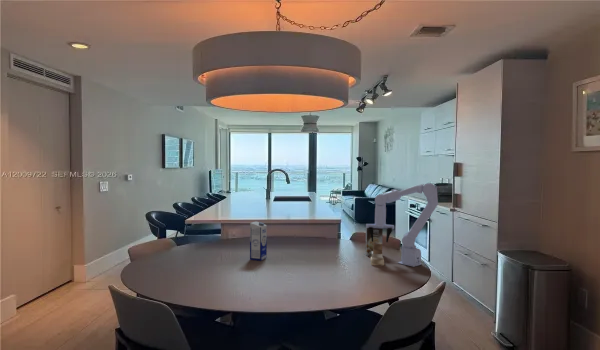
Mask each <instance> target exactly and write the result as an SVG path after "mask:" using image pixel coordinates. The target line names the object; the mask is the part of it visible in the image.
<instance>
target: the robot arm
mask: <svg viewBox="0 0 600 350" xmlns="http://www.w3.org/2000/svg"><path fill="white" fill-rule="evenodd" d="M412 194H423V195H424V196H425V198H426V201H427V203H426V205H425V207H424V208H423V210H422V211H421V212H420V214H419V215H418V218H417V219H416V220H415V222H414V223H413V224H412V227H411V228H410V229H409V231H408V232H406V233H405V234H403V237H402V239H401V243H402V245H401V258H400V259H401V261H398V262H397V263H398V264H399V265H403V266H409V267H412V268H414V267H419V266H421V265H423V263H422V250H421V249H420V248H418V247H417V245H416V244H415V243H416V239H417V238H418V235H419V234H420V232H421V231H422V230H423V228H424V226H425V224H426V223H427V222H428V221H429V218H430V217H431V216H432V214H433V212H434V211H435V210H436V208H437V207H438V205H439V201H438V200H439V199H438V190H437V188H436V186H435V184H434V183H432V182H428V183H422V184H415V185H413V186H410V187H407V188H405V189H401V190H398V189H394V188H393V189H392V188H391V190H390V191H387V192H382V193H380V194H378V195H376V196H375V198H374V202H375V204H374V205H375V208H374V223H366V224H365V226H366V227H365V229H366V228H368V229H369V231H370V234H371V239H372V242H373V228H383V229H386V238H385V242H386V243H389V238H390V236H391V234H392V232H393V230H394V229H395V225H394V224H387V222H386V219H387V207H386V205H387V204H390V203H393V202H396V201H399V200H400V199H401V197H405V196H408V195H412ZM386 203H387V204H386Z"/></svg>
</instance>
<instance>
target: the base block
mask: <svg viewBox="0 0 600 350" xmlns="http://www.w3.org/2000/svg"><path fill="white" fill-rule="evenodd" d="M370 265H371V266H385V259H384V258H383V260H374V259H372V256H370Z"/></svg>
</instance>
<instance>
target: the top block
mask: <svg viewBox="0 0 600 350" xmlns="http://www.w3.org/2000/svg"><path fill="white" fill-rule="evenodd" d="M383 255H384V254H383V252H382V254H373V251H372V256H371V257H372V259H374V260H383V259H384V257H383Z"/></svg>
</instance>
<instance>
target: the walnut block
mask: <svg viewBox="0 0 600 350" xmlns="http://www.w3.org/2000/svg"><path fill="white" fill-rule="evenodd" d="M382 253H383V242H382V243H377V242H373V254H382Z"/></svg>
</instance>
